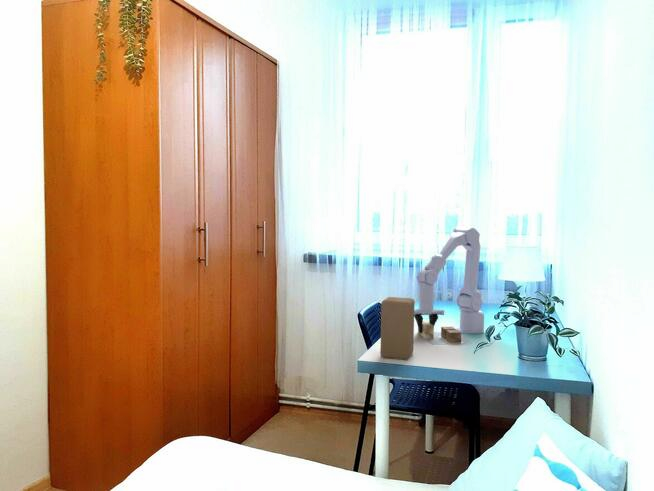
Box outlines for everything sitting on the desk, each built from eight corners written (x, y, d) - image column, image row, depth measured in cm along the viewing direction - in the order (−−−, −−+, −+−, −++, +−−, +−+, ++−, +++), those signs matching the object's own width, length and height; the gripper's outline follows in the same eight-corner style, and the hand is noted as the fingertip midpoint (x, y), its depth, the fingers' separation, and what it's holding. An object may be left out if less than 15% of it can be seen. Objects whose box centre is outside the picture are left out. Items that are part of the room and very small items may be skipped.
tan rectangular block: (426, 332, 235) (426, 320, 234) (433, 338, 225) (433, 325, 224) (417, 332, 234) (418, 320, 234) (424, 338, 224) (425, 326, 224)
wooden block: (413, 353, 202) (415, 298, 201) (408, 360, 193) (409, 302, 191) (386, 351, 205) (387, 296, 204) (379, 358, 196) (380, 300, 194)
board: (454, 332, 237) (454, 332, 237) (472, 344, 217) (472, 343, 217) (416, 333, 235) (416, 332, 235) (431, 345, 215) (431, 344, 215)
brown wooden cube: (451, 336, 228) (452, 326, 228) (455, 339, 224) (456, 329, 224) (441, 336, 228) (441, 326, 228) (444, 339, 223) (445, 329, 223)
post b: (457, 339, 223) (457, 329, 222) (461, 342, 218) (461, 332, 218) (446, 340, 222) (446, 330, 222) (449, 342, 218) (450, 332, 217)
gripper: (411, 301, 224) (410, 335, 224) (447, 300, 225) (446, 334, 226) (406, 298, 231) (406, 331, 231) (441, 297, 232) (440, 330, 233)
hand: (425, 332), depth 229 cm, fingers open, 4 cm apart
